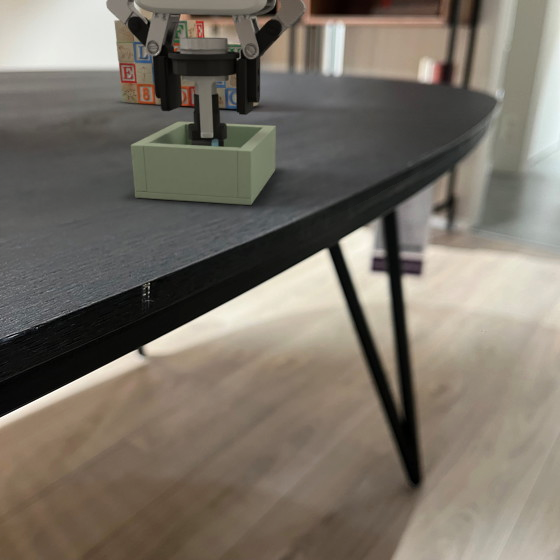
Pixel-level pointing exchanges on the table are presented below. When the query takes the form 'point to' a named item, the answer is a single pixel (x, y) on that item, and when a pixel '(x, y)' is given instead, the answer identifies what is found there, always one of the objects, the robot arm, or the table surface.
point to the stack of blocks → (141, 73)
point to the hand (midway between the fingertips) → (208, 108)
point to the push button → (205, 84)
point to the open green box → (204, 165)
